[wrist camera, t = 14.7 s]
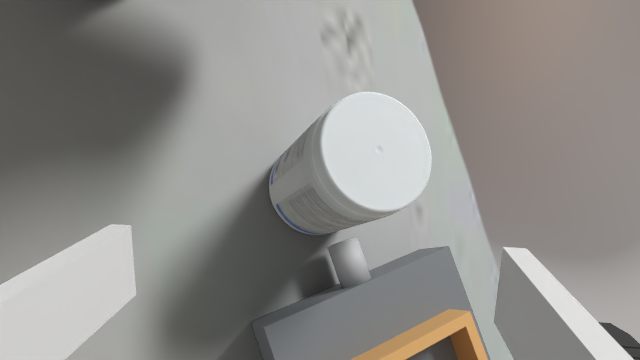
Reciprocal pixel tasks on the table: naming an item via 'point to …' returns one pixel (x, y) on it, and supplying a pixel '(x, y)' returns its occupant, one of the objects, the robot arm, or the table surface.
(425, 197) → the table surface
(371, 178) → the supplement tub
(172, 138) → the table surface
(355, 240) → the grey platform
